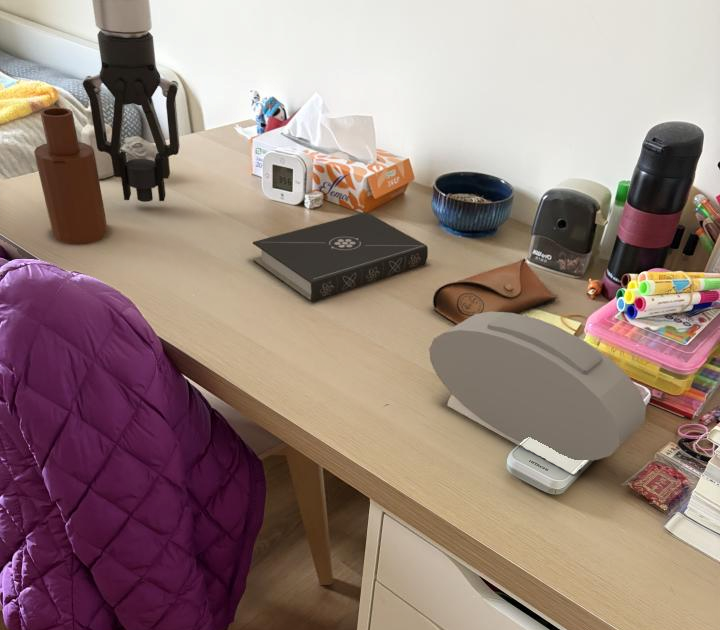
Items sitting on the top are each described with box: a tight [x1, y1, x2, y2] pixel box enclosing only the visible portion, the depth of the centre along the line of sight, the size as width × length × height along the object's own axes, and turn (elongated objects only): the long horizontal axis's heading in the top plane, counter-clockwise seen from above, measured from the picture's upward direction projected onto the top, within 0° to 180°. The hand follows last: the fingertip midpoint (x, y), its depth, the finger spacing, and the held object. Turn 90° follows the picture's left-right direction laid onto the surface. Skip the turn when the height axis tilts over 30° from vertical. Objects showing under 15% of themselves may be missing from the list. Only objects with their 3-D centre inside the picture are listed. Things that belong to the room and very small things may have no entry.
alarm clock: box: [428, 311, 647, 461], centre depth 76 cm, size 23×6×13 cm, turn 48°
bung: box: [125, 159, 158, 203], centre depth 114 cm, size 5×5×6 cm
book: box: [252, 211, 429, 303], centre depth 106 cm, size 22×15×3 cm
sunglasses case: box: [432, 258, 558, 326], centre depth 100 cm, size 18×7×7 cm
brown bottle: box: [33, 107, 108, 245], centre depth 103 cm, size 8×8×17 cm
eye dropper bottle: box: [80, 100, 115, 180], centre depth 122 cm, size 4×6×12 cm
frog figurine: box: [120, 135, 158, 162], centre depth 124 cm, size 6×7×7 cm
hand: (145, 197), depth 116 cm, fingers closed on bung, 5 cm apart
